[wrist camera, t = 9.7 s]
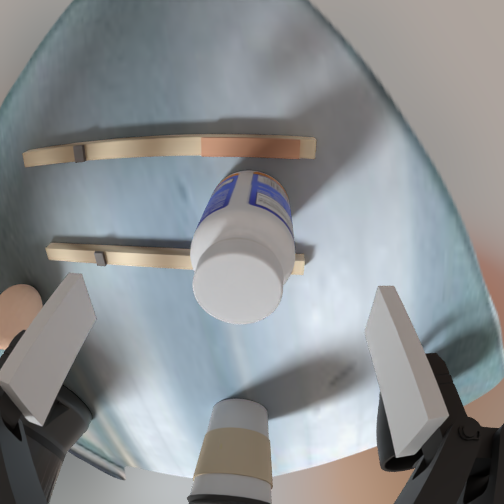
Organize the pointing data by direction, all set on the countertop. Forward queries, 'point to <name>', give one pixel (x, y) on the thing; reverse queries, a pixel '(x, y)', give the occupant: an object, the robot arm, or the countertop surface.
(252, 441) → the coffee cup
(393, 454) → the mug
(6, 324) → the egg
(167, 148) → the beam track
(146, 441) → the countertop surface
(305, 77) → the countertop surface
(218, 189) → the pill bottle
